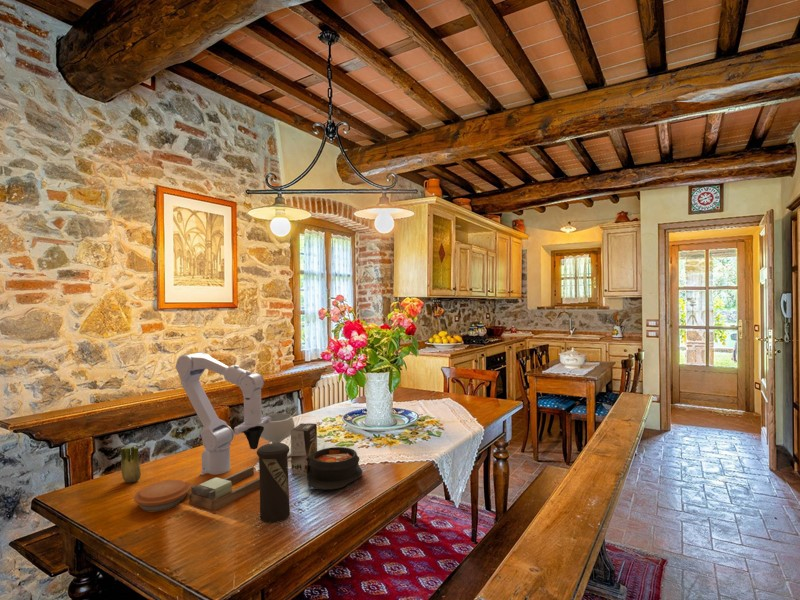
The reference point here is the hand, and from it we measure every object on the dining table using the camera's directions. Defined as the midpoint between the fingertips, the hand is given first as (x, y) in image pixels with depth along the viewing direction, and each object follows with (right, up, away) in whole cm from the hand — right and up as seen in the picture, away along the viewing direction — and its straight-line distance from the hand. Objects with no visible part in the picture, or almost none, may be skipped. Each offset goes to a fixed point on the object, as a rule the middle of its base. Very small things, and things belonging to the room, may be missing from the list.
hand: (253, 448), depth 153 cm
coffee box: (+17, -10, +4) cm, 20 cm away
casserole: (+28, -10, -3) cm, 30 cm away
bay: (-2, -10, -12) cm, 16 cm away
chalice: (+2, -10, +21) cm, 23 cm away
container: (+15, -10, -27) cm, 33 cm away
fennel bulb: (-41, -11, -1) cm, 43 cm away
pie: (-22, -11, -17) cm, 30 cm away
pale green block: (-5, -9, -19) cm, 21 cm away
